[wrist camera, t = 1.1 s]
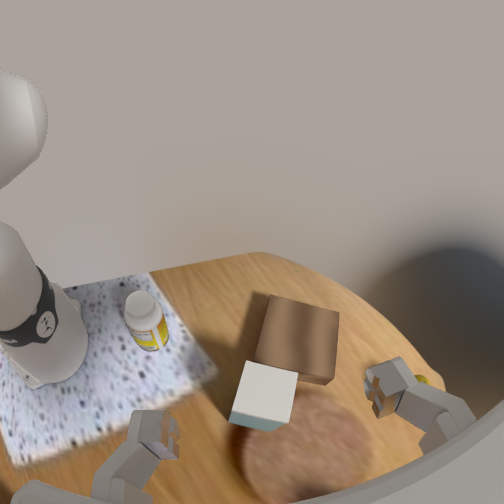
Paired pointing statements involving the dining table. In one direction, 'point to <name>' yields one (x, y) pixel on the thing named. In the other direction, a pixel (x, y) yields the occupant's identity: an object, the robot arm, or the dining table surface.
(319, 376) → the walnut block
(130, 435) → the robot arm
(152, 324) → the supplement bottle
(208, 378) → the dining table surface
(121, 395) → the dining table surface
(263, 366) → the tea tin
